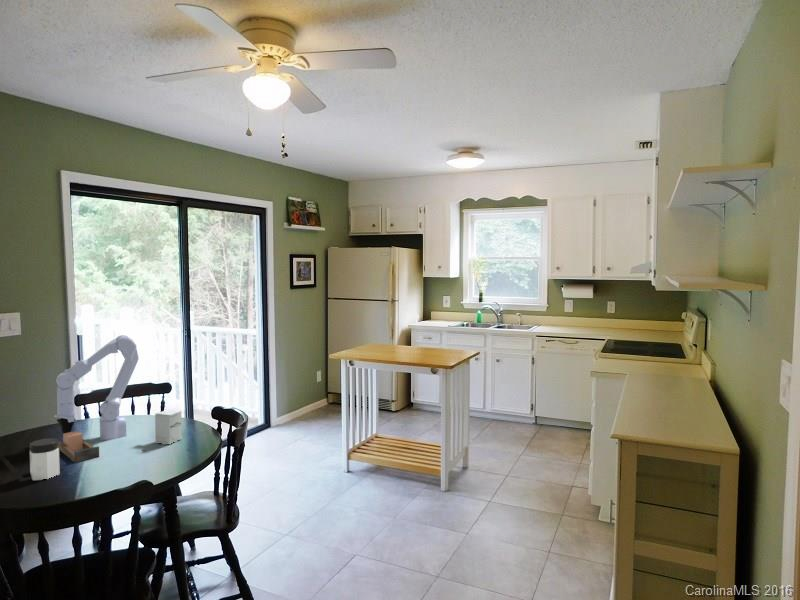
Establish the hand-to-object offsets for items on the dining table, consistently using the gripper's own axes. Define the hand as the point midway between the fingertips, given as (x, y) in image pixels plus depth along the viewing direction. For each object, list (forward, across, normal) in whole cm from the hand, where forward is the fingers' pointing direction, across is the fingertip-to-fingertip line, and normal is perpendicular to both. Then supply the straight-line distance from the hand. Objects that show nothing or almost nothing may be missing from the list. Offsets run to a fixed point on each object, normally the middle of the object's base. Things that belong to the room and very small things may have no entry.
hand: (66, 436), depth 208 cm
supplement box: (+5, +23, +31) cm, 39 cm away
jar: (+5, +28, -14) cm, 32 cm away
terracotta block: (+3, +8, 0) cm, 9 cm away
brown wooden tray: (+4, +14, 0) cm, 15 cm away
